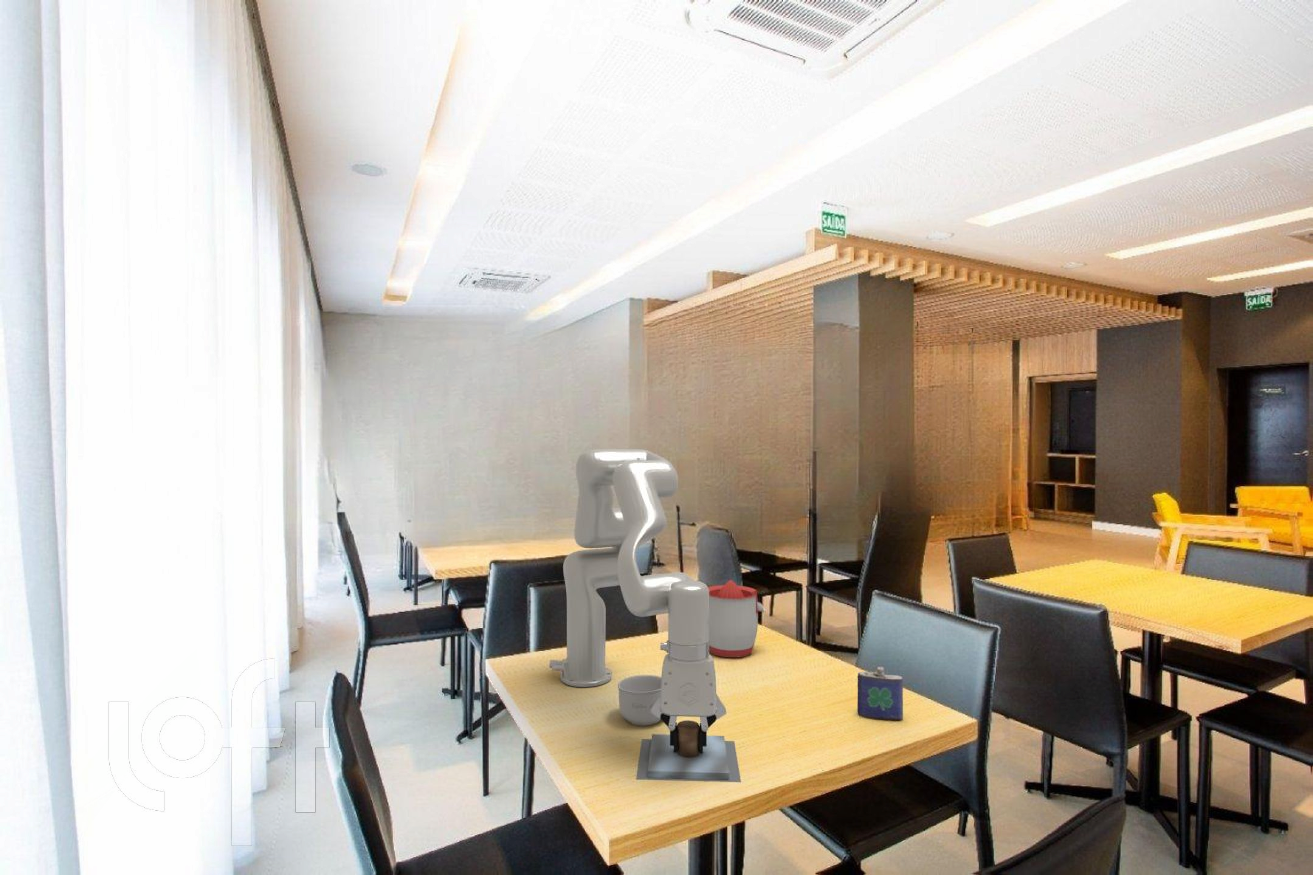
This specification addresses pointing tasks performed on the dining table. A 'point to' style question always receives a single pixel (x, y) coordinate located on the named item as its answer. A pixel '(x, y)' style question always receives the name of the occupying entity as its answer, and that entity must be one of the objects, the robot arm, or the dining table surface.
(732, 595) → the citrus juicer
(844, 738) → the dining table surface
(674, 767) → the lid
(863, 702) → the flask
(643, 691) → the teacup
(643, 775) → the tray
